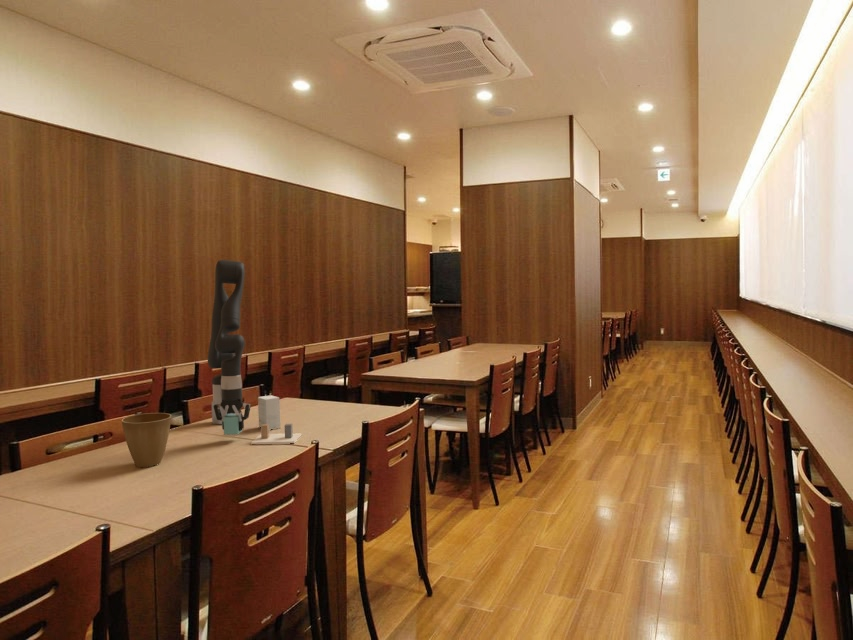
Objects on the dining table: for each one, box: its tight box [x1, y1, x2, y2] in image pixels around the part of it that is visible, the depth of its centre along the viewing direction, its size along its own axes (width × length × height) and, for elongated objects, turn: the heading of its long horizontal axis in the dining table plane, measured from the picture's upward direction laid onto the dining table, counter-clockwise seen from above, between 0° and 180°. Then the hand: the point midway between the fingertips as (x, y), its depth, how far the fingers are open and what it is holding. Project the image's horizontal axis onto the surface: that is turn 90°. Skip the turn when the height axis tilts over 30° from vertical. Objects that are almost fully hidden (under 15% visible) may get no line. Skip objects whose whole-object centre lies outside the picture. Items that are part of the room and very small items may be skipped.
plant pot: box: [121, 412, 172, 468], centre depth 189 cm, size 15×15×16 cm
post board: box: [251, 423, 302, 445], centre depth 217 cm, size 16×12×6 cm
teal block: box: [223, 414, 243, 436], centre depth 217 cm, size 5×5×7 cm
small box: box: [257, 394, 281, 431], centre depth 237 cm, size 8×6×13 cm
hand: (233, 430), depth 217 cm, fingers closed on teal block, 5 cm apart
